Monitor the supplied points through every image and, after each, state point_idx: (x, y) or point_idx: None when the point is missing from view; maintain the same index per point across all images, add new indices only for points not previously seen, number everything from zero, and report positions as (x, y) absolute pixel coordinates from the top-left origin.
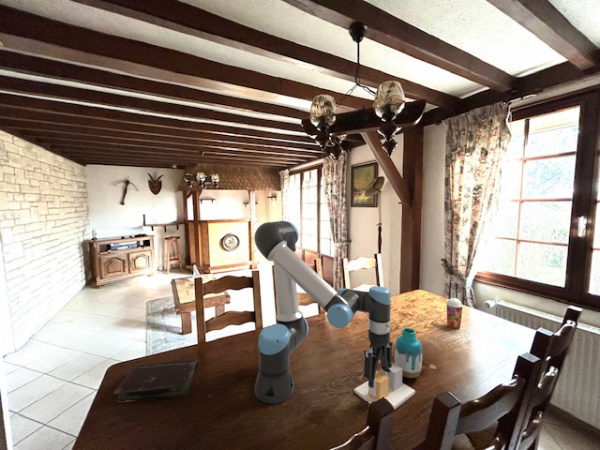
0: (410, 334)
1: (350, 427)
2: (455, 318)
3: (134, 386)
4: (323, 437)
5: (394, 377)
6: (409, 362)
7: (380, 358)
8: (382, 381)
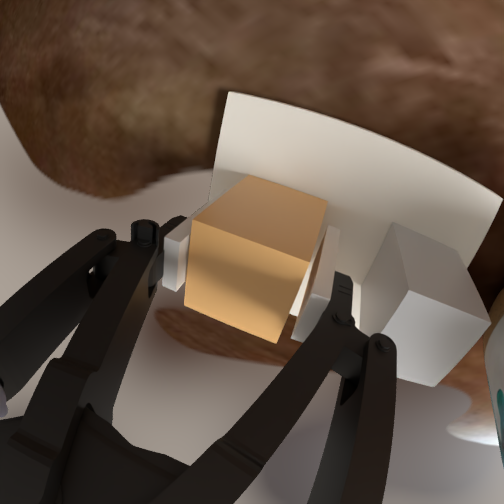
0: None
1: (89, 186)
2: None
3: None
4: (37, 149)
5: None
6: (495, 399)
7: (258, 399)
8: (211, 315)
